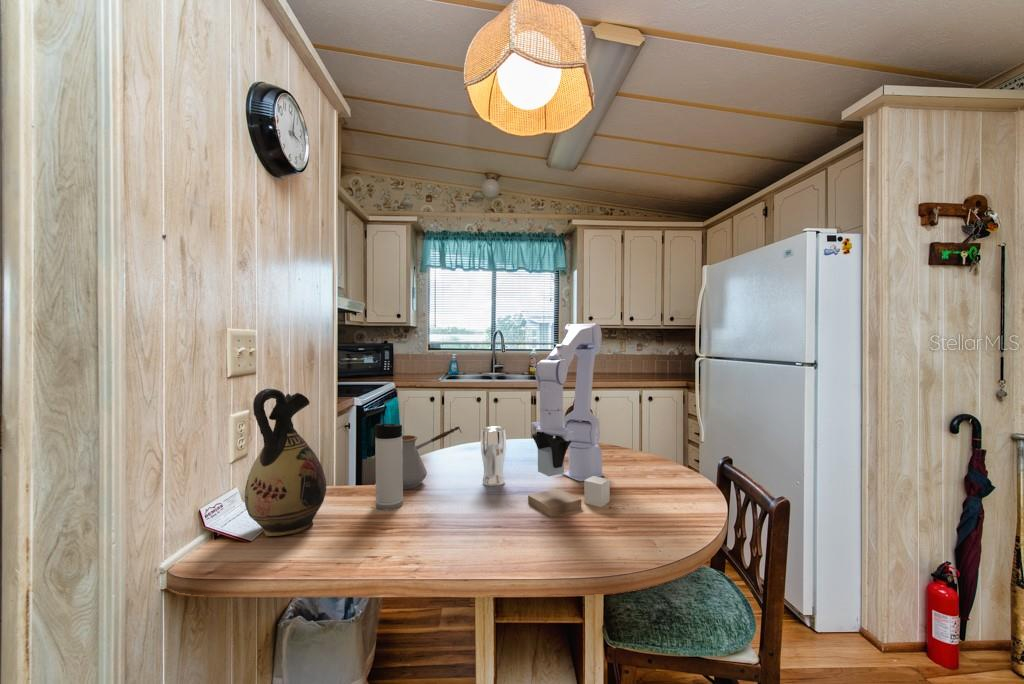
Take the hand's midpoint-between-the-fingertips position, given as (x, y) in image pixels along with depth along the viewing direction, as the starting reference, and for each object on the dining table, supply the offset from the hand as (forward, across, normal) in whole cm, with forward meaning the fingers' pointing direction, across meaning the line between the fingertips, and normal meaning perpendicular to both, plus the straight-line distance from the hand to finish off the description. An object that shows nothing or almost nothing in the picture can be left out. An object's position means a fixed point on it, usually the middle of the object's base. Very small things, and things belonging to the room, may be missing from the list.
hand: (551, 464), depth 105 cm
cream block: (+9, +6, +9) cm, 14 cm away
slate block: (+2, 0, 0) cm, 2 cm away
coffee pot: (+9, -30, -21) cm, 38 cm away
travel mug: (+9, -19, -34) cm, 40 cm away
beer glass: (+9, -20, -5) cm, 22 cm away
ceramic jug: (+10, -19, -57) cm, 60 cm away
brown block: (+10, +2, -1) cm, 10 cm away
